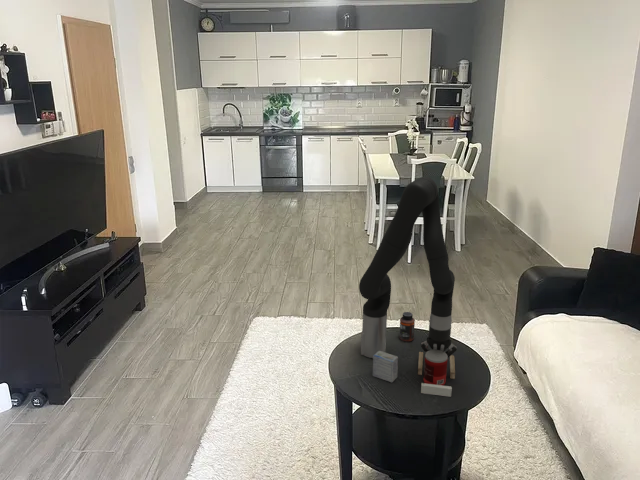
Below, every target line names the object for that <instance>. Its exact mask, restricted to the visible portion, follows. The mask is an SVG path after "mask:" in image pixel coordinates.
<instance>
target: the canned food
mask: <svg viewBox="0 0 640 480" xmlns="http://www.w3.org/2000/svg"><path fill="white" fill-rule="evenodd" d="M445 352H446V351H440V350H437V351H435V350H432V349H430V350H429V351H427V352H426V353H425V355H424V362H423V363H424V365H423V368H424V369H423V380H422V381H423V383H426V384H434V385H442V386H446V385H445V384H446V380H447V371H448V362H449V361H448V359H449V358H448V356H447V354H446V353H445Z"/></svg>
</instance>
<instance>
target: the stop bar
mask: <svg viewBox="0 0 640 480" xmlns="http://www.w3.org/2000/svg"><path fill="white" fill-rule="evenodd" d="M420 386H421V388H420V393H421V394H425V395H433V396H435V395H436V396H443V397H449V398H450V397H452V391H453V390H452V389H453V387H452V386H449V385H444V386H442V385H434V384H426V383H424V382H421V385H420Z"/></svg>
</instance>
